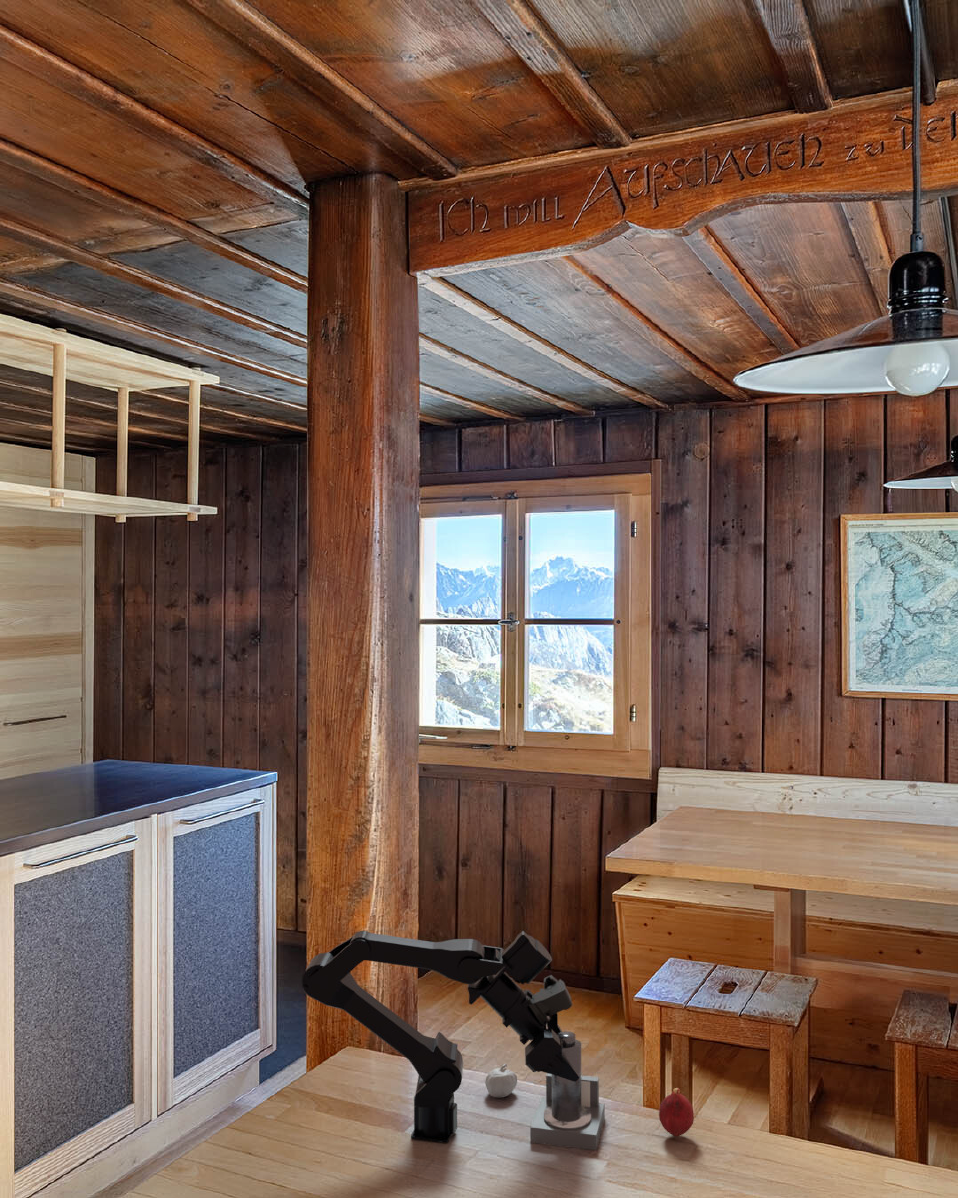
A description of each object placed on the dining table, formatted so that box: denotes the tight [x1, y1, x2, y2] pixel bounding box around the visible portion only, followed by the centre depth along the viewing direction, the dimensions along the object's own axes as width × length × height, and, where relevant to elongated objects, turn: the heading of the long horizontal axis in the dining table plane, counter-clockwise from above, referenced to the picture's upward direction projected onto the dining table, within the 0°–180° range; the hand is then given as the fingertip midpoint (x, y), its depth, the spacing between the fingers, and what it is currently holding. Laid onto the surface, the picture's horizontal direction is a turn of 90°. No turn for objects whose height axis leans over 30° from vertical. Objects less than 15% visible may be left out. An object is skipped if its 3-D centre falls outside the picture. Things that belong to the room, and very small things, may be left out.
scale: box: [529, 1073, 606, 1151], centre depth 180 cm, size 11×11×7 cm
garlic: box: [485, 1063, 518, 1098], centre depth 193 cm, size 6×5×5 cm
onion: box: [658, 1087, 695, 1138], centre depth 177 cm, size 6×6×8 cm
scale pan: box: [544, 1106, 591, 1130], centre depth 179 cm, size 8×8×1 cm
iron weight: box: [552, 1030, 582, 1122], centre depth 178 cm, size 5×5×14 cm
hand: (575, 1067), depth 178 cm, fingers open, 9 cm apart
